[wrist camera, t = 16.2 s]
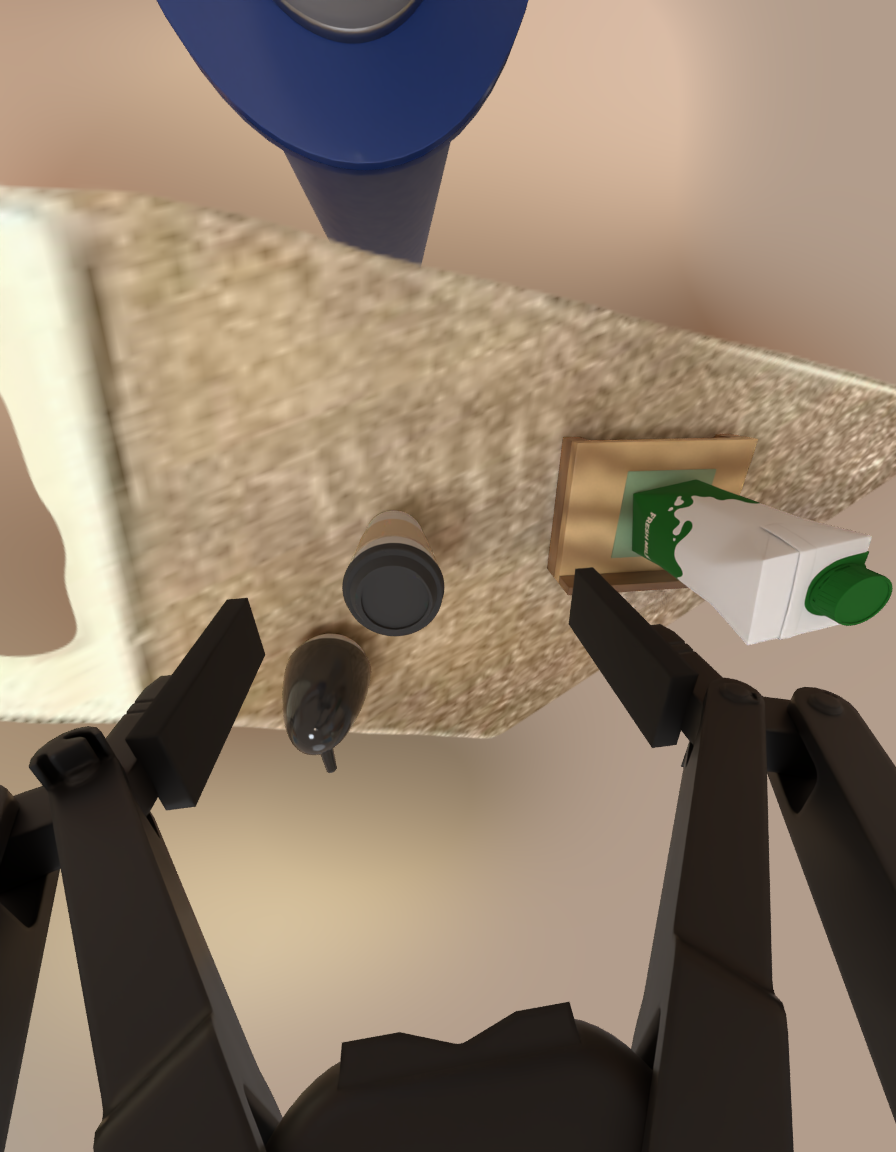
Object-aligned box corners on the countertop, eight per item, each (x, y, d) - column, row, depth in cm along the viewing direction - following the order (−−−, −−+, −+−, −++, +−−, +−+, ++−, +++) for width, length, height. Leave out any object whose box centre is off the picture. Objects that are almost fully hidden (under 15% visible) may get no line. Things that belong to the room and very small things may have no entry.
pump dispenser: (310, 691, 56) (283, 793, 42) (280, 631, 51) (240, 724, 38) (382, 674, 56) (378, 770, 43) (359, 613, 51) (346, 698, 38)
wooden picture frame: (562, 437, 44) (590, 447, 38) (731, 433, 46) (782, 443, 40) (546, 568, 51) (567, 595, 45) (693, 560, 54) (732, 585, 47)
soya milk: (697, 542, 47) (877, 644, 30) (622, 559, 47) (758, 672, 30) (705, 468, 43) (919, 535, 26) (623, 486, 43) (781, 567, 25)
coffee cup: (372, 582, 50) (364, 659, 36) (342, 515, 45) (320, 575, 32) (442, 559, 49) (459, 629, 36) (418, 490, 45) (428, 540, 32)
